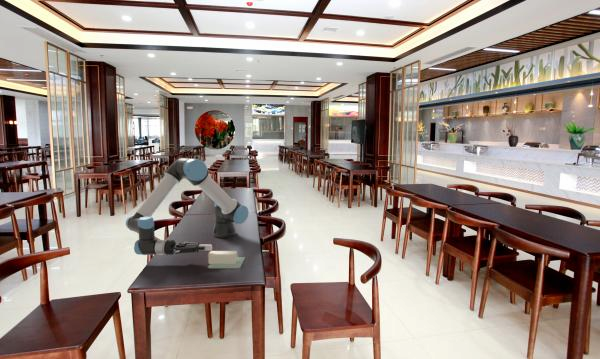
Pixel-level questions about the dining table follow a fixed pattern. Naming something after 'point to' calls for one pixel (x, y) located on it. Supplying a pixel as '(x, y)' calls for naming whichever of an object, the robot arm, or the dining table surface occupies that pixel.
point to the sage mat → (237, 265)
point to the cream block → (222, 257)
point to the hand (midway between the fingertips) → (211, 247)
